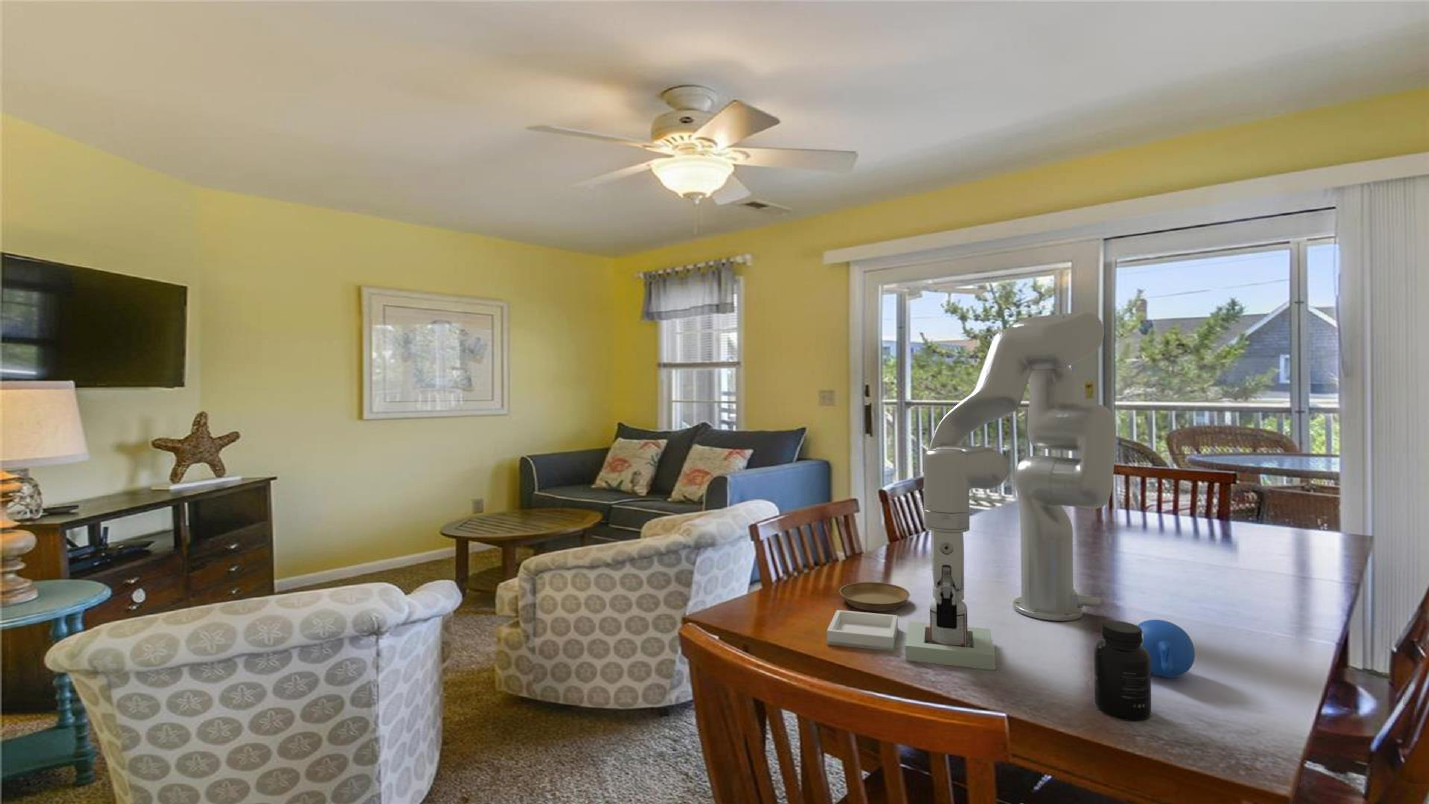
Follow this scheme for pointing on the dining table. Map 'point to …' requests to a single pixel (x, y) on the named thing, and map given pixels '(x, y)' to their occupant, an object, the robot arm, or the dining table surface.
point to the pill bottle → (945, 634)
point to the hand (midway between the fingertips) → (946, 618)
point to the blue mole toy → (1167, 648)
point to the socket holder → (950, 648)
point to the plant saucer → (874, 596)
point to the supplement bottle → (1122, 672)
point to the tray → (863, 630)
